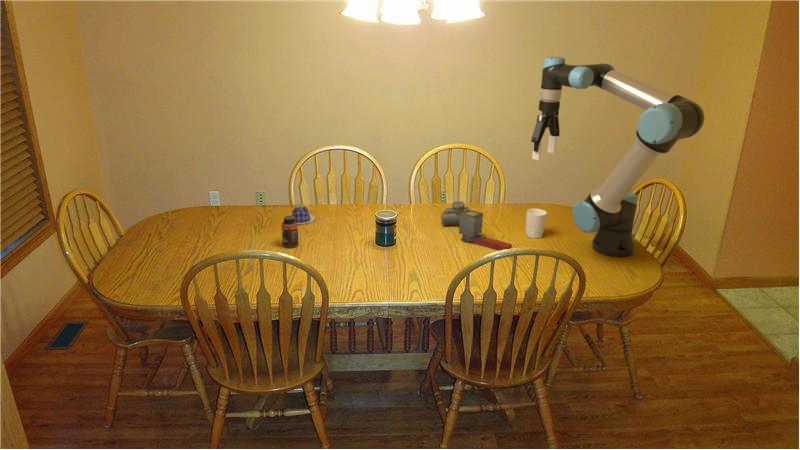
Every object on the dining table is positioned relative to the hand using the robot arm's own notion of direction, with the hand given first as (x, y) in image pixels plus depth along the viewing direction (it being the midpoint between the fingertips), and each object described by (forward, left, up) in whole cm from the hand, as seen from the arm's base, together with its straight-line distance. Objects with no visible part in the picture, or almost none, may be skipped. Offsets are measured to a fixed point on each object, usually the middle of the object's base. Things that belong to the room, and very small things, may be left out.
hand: (543, 156), depth 225 cm
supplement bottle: (+65, +72, -32) cm, 102 cm away
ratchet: (+9, +24, -32) cm, 41 cm away
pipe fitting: (+29, +14, -32) cm, 45 cm away
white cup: (-1, +3, -32) cm, 32 cm away
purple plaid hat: (+82, +51, -32) cm, 102 cm away
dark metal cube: (+16, +24, -29) cm, 41 cm away
